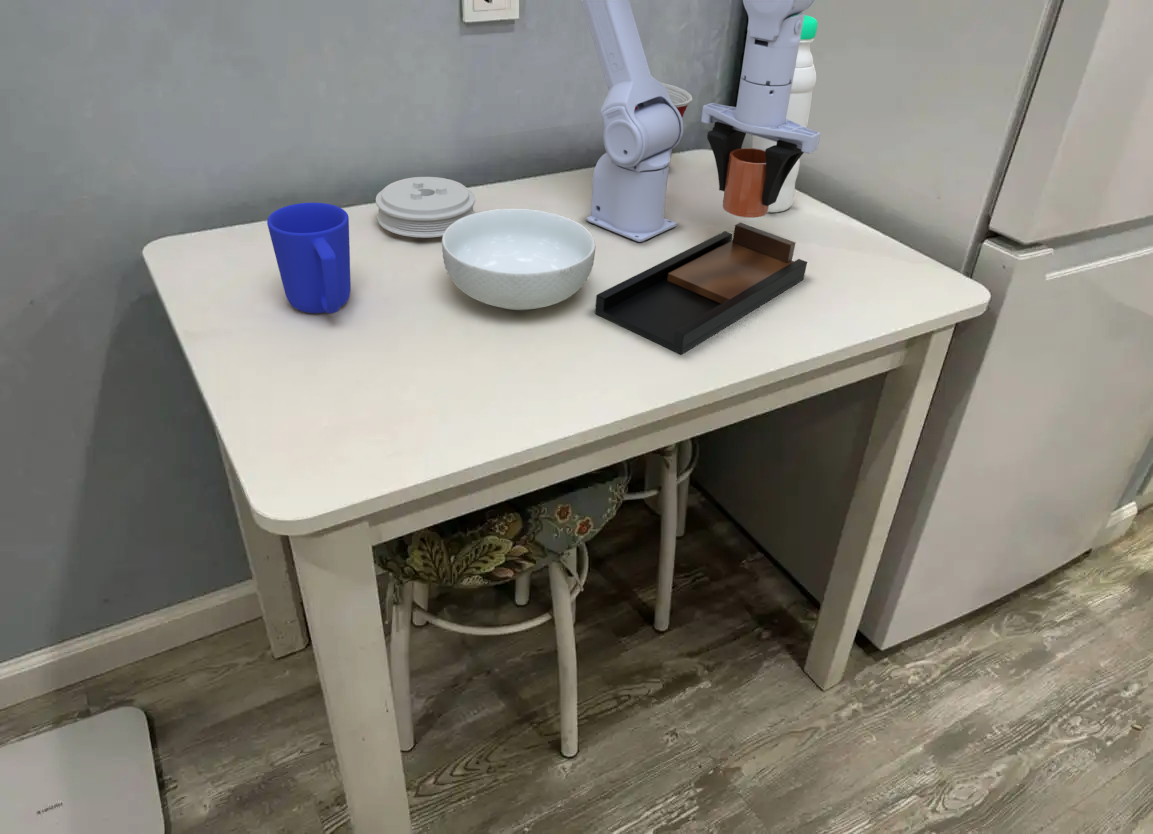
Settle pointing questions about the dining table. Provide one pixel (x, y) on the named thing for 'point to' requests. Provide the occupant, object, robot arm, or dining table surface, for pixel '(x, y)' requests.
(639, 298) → the slide rail
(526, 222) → the cereal bowl
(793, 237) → the dining table surface
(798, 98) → the water bottle
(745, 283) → the slide
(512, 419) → the dining table surface
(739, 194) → the cup
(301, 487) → the dining table surface
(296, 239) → the mug
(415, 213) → the lid
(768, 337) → the dining table surface
